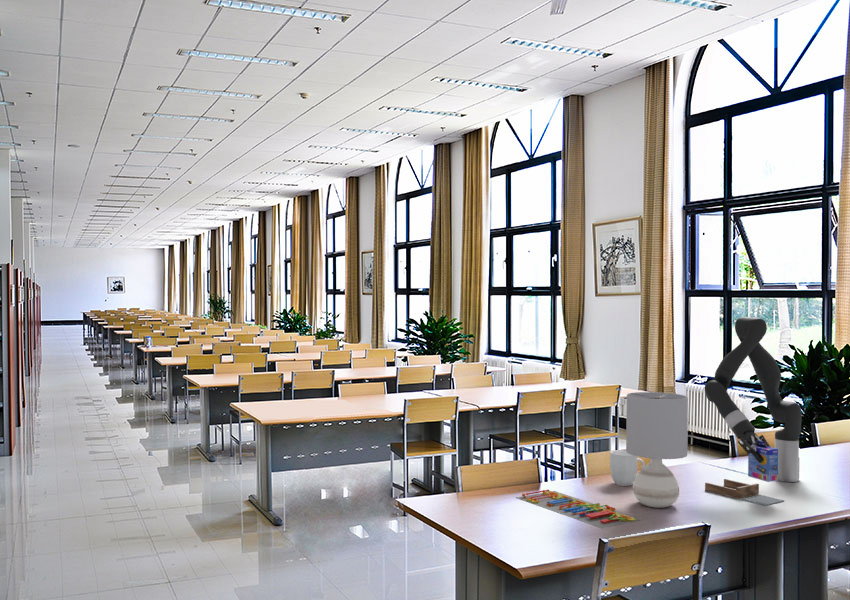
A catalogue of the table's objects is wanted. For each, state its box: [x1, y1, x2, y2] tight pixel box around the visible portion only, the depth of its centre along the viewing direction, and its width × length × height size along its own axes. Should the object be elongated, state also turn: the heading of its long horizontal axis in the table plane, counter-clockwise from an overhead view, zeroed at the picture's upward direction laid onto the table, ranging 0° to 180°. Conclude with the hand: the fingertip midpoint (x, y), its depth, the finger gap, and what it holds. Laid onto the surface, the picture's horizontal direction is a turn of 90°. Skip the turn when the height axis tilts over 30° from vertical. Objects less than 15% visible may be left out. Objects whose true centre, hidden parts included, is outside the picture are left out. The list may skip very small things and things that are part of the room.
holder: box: [704, 478, 760, 499], centre depth 302 cm, size 13×15×4 cm
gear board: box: [515, 489, 643, 529], centre depth 277 cm, size 45×2×19 cm
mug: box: [609, 449, 646, 487], centre depth 314 cm, size 15×11×13 cm
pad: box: [740, 494, 785, 507], centre depth 290 cm, size 12×10×1 cm
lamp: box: [625, 391, 689, 509], centre depth 282 cm, size 22×22×40 cm
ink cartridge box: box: [747, 440, 779, 483], centre depth 290 cm, size 10×6×14 cm, turn 25°
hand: (766, 460), depth 289 cm, fingers closed on ink cartridge box, 6 cm apart
